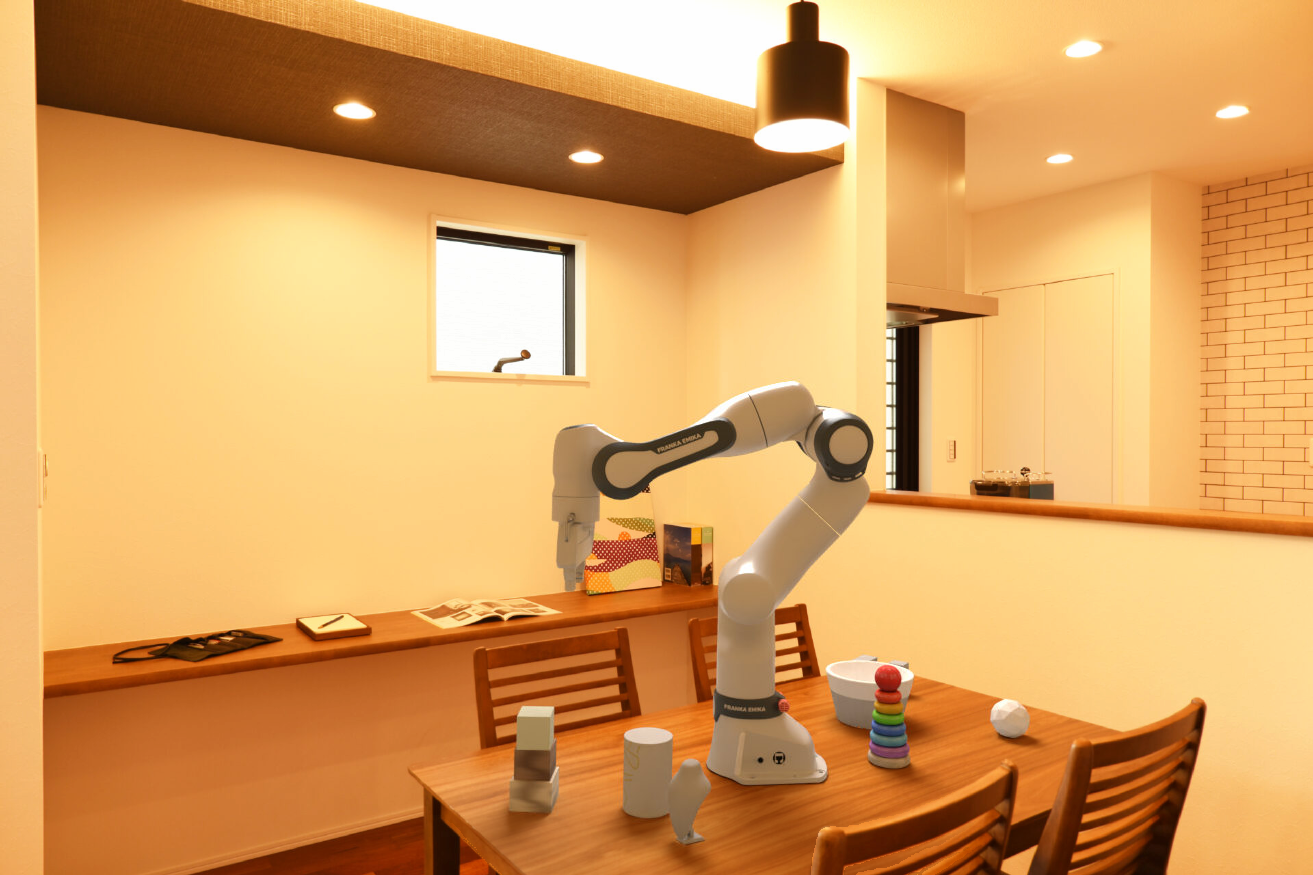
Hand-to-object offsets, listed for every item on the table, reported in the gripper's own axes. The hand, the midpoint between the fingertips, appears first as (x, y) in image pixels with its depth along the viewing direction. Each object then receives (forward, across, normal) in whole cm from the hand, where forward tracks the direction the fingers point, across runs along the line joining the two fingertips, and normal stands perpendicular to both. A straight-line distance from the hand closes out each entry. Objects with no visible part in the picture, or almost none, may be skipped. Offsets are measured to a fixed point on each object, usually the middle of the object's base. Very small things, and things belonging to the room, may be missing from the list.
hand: (574, 586), depth 158 cm
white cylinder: (+34, -14, -15) cm, 40 cm away
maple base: (+34, -14, +4) cm, 37 cm away
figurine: (+34, -25, -22) cm, 48 cm away
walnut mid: (+29, -14, +4) cm, 33 cm away
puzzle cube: (+34, +57, -66) cm, 94 cm away
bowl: (+34, +37, -61) cm, 79 cm away
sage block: (+24, -14, +4) cm, 28 cm away
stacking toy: (+34, +11, -60) cm, 70 cm away
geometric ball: (+34, +29, -89) cm, 100 cm away
